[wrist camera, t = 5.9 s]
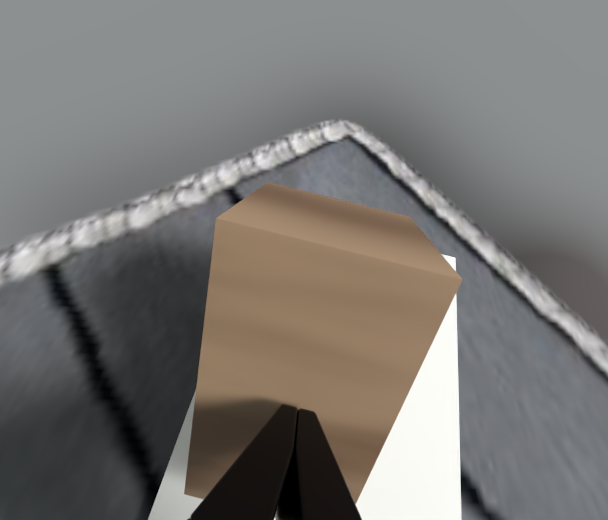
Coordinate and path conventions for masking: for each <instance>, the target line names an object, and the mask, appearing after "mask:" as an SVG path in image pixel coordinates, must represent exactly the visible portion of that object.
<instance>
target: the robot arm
mask: <svg viewBox="0 0 608 520" xmlns="http://www.w3.org/2000/svg"><path fill="white" fill-rule="evenodd" d="M276 511H277V513H276ZM275 514H276V520H362V518H361V516H360V513H359V511H358V509H357V507H356V504H355V502H354V500H353V497H352V495H351V493H350V491H349V488H348V486H347V484H346V481H345V479H344V477H343V474H342V472H341V470H340V468H339V465H338V463H337V461H336V458H335V456H334V454H333V452H332V449H331V447H330V445H329V442H328V440H327V438H326V435H325V433H324V431H323V429H322V426H321V424H320V422H319V419H318V417H317V415H316V413H315V412H314V411H311V410H307V409H303V408H300V409H299V410H298V409H297V407H295V406H291V405H287V404H281V405H280V406H279V407H278V409H277V410H276V411H275V412H274V414H273V415H272V416H271V417H270V418H269V420H268V421H267V422H266V423H265V425H264V426H263V427H262V428H261V430H260V431H259V432H258V433H257V434H256V436H255V437H254V438H253V439H252V441H251V442H250V443H249V444H248V445H247V447H246V448H245V449H244V450H243V452H242V453H241V454H240V455H239V457H238V458H237V459H236V460H235V461H234V463H233V464H232V465H231V466H230V468H229V469H228V470H227V471H226V473H225V474H224V475H223V476H222V477H221V479H220V480H219V481H218V482H217V484H216V485H215V486H214V487H213V488H212V490H211V491H210V492H209V493H208V495H207V496H206V497H205V498H204V500H203V501H202V502H201V503H200V504H199V506H198V507H197V508H196V509H195V511H194V512H193V513H192V514H191V516H190V518H189V519H187V520H274V518H275Z"/></svg>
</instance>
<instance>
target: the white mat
mask: <svg viewBox="0 0 608 520" xmlns="http://www.w3.org/2000/svg"><path fill="white" fill-rule="evenodd" d="M441 255H442V254H441ZM442 256H443V257H444V258H445V259H446V261H447V262H448V263H449V264H450V265H451V266H452V268H453V269H454V270H455V271H456V262H455V258H454V257H450V256H446V255H442ZM195 395H196V390H195V393H194V396H193V398H192V401H191V404H190V406H189V409H188V412H187V415H186V417H185V420H184V423H183V425H182V428H181V431H180V434H179V436H178V439H177V442H176V445H175V447H174V450H173V453H172V455H171V458H170V461H169V464H168V466H167V469H166V472H165V474H164V477H163V480H162V483H161V485H160V488H159V491H158V493H157V496H156V499H155V502H154V504H153V507H152V510H151V513H150V515H149V518H148V520H187V519H189V518H190V516H191V514H192V513H193V512H194V511H195V509H196V508H197V507H198V506H199V504H200V503H201V502H202V501H203V500H204V499H201V498H197V497H193V496H189V495H185V494H184V490H185V481H186V472H187V464H188V455H189V447H190V438H191V430H192V421H193V412H194V404H195ZM356 507H357V509H358V511H359V513H360V516H361V518H362V520H461V484H460V439H459V395H458V350H457V306H456V294H455V296H454V298H453V300H452V302H451V305H450V307H449V309H448V311H447V313H446V315H445V317H444V319H443V321H442V324H441V326H440V328H439V330H438V332H437V334H436V336H435V338H434V340H433V343H432V345H431V347H430V349H429V351H428V353H427V355H426V357H425V359H424V361H423V364H422V366H421V368H420V370H419V372H418V374H417V376H416V378H415V380H414V383H413V385H412V387H411V389H410V391H409V393H408V395H407V397H406V399H405V402H404V404H403V406H402V408H401V410H400V412H399V414H398V416H397V418H396V420H395V423H394V425H393V427H392V429H391V431H390V433H389V435H388V437H387V439H386V442H385V444H384V446H383V448H382V450H381V452H380V454H379V456H378V458H377V461H376V463H375V465H374V467H373V469H372V471H371V473H370V475H369V477H368V480H367V482H366V484H365V486H364V488H363V490H362V492H361V494H360V496H359V498H358V501H357V503H356ZM274 520H276V518H274Z"/></svg>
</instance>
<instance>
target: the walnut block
mask: <svg viewBox="0 0 608 520" xmlns="http://www.w3.org/2000/svg"><path fill="white" fill-rule="evenodd" d="M461 281H462V278H461V277H460V276H459V275H458V274H457V272H456V271H455V270H454V269H453V268H452V266H451V265H450V264H449V263H448V262H447V261H446V259H445V258H444V257H443V256H442V255H441V253H440V252H439V251H438V250H437V249H436V247H435V246H434V245H433V244H432V243H431V242H430V240H429V239H428V238H427V237H426V236H425V234H424V233H423V232H422V231H421V230H420V229H419V227H418V226H417V225H416V224H415V223H414V221H413V220H412V219H411V218H410V217H408V216H404V215H400V214H396V213H392V212H388V211H384V210H380V209H376V208H372V207H368V206H363V205H359V204H355V203H351V202H347V201H343V200H339V199H335V198H331V197H327V196H323V195H319V194H315V193H311V192H307V191H303V190H299V189H295V188H290V187H286V186H282V185H278V184H274V183H270V182H268V183H267V184H265V185H264V186H262V187H261V188H259V189H258V190H256V191H255V192H254V193H252V194H251V195H249V196H248V197H246V198H245V199H243V200H242V201H240V202H239V203H238V204H236V205H235V206H233V207H232V208H230V209H229V210H227V211H226V212H224V213H223V214H222V215H220V216H219V217H217V218H216V224H215V232H214V241H213V250H212V258H211V267H210V275H209V284H208V292H207V301H206V310H205V318H204V327H203V335H202V344H201V352H200V361H199V370H198V378H197V387H196V395H195V404H194V412H193V421H192V430H191V438H190V447H189V455H188V464H187V472H186V481H185V490H184V494H185V495H189V496H193V497H197V498H201V499H204V498H205V497H206V496H207V495H208V493H209V492H210V491H211V490H212V488H213V487H214V486H215V485H216V484H217V482H218V481H219V480H220V479H221V477H222V476H223V475H224V474H225V473H226V471H227V470H228V469H229V468H230V466H231V465H232V464H233V463H234V461H235V460H236V459H237V458H238V457H239V455H240V454H241V453H242V452H243V450H244V449H245V448H246V447H247V445H248V444H249V443H250V442H251V441H252V439H253V438H254V437H255V436H256V434H257V433H258V432H259V431H260V430H261V428H262V427H263V426H264V425H265V423H266V422H267V421H268V420H269V418H270V417H271V416H272V415H273V414H274V412H275V411H276V410H277V409H278V407H279V406H280V405H281V404H287V405H291V406H295V407H297V409H298V410H299V409H300V408H303V409H307V410H311V411H314V412H315V413H316V415H317V417H318V419H319V422H320V424H321V426H322V429H323V431H324V433H325V435H326V438H327V440H328V442H329V445H330V447H331V449H332V452H333V454H334V456H335V458H336V461H337V463H338V465H339V468H340V470H341V472H342V474H343V477H344V479H345V481H346V484H347V486H348V488H349V491H350V493H351V495H352V497H353V500H354V502H355V504H356V503H357V501H358V498H359V496H360V494H361V492H362V490H363V488H364V486H365V484H366V482H367V480H368V477H369V475H370V473H371V471H372V469H373V467H374V465H375V463H376V461H377V458H378V456H379V454H380V452H381V450H382V448H383V446H384V444H385V442H386V439H387V437H388V435H389V433H390V431H391V429H392V427H393V425H394V423H395V420H396V418H397V416H398V414H399V412H400V410H401V408H402V406H403V404H404V402H405V399H406V397H407V395H408V393H409V391H410V389H411V387H412V385H413V383H414V380H415V378H416V376H417V374H418V372H419V370H420V368H421V366H422V364H423V361H424V359H425V357H426V355H427V353H428V351H429V349H430V347H431V345H432V343H433V340H434V338H435V336H436V334H437V332H438V330H439V328H440V326H441V324H442V321H443V319H444V317H445V315H446V313H447V311H448V309H449V307H450V305H451V302H452V300H453V298H454V296H455V294H456V292H457V290H458V288H459V286H460V284H461ZM276 513H277V511H276ZM275 518H276V514H275Z"/></svg>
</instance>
